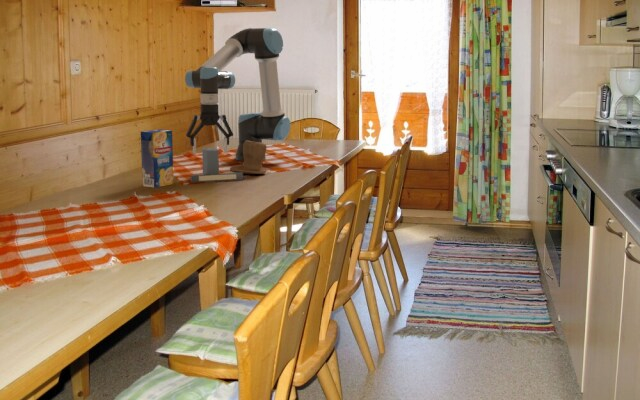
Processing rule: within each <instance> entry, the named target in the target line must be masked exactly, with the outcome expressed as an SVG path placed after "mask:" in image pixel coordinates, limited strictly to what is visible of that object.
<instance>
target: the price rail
mask: <svg viewBox="0 0 640 400" xmlns="http://www.w3.org/2000/svg"><path fill="white" fill-rule="evenodd" d="M243 180H244V174H243V173H242V172H238V173H235V172H224V173H220V172H219V174H203V173H202V174H191V175H190V183H192V184H193V183H209V182H211V183H212V182H227V181H230V182H231V181H243Z"/></svg>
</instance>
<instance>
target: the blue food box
mask: <svg viewBox="0 0 640 400" xmlns="http://www.w3.org/2000/svg"><path fill="white" fill-rule="evenodd" d="M173 146H174V145H173V130H169V129H152V130H144V131H140V153H141V154H140V155H141V177H142V181H141V182H142V183H141V184H142V187H148V188H149V187H150V188H160V187H164V186H169V185H174V184H175V182H174V152H173V151H174V150H173V149H174V148H173Z"/></svg>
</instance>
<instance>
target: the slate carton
mask: <svg viewBox="0 0 640 400" xmlns="http://www.w3.org/2000/svg"><path fill="white" fill-rule="evenodd" d="M201 149H202V152H201V153H202V155H201V156H202V174H219V173H220V163H219V162H220V160H219V159H220V155H219V149H216V148H215V147H206V148H205V147H204V148H203V147H202V148H201Z"/></svg>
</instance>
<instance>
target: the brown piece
mask: <svg viewBox="0 0 640 400" xmlns="http://www.w3.org/2000/svg"><path fill="white" fill-rule="evenodd" d="M266 152H267V144H266V142H263V141H262V142H255V141H249V140H246V141H245V142H244V144H243V156H244V161H243V163H242V164H239V165H238V164H236V165H232V166H231V167H230V168H229V171H230V173H238V172H242V173H243V175H263V174H265V173H267V170H266V169H265V168H264V167H263V165H262V164H263V161H264V160H263V159H264V157H265V155H266Z"/></svg>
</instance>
